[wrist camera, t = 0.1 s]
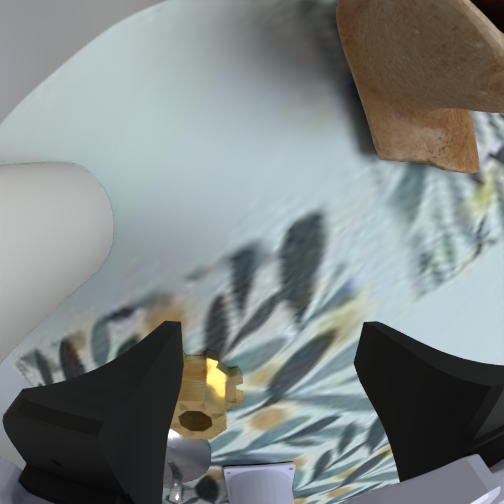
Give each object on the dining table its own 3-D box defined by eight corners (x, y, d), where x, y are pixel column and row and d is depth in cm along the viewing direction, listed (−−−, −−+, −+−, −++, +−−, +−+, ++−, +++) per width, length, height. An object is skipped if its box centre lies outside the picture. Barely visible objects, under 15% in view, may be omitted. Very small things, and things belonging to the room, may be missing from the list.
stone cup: (290, -2, 16) (357, -148, 1) (419, 6, 16) (532, -59, 1) (342, 191, 20) (523, 249, 5) (463, 169, 20) (614, 197, 5)
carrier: (217, 478, 28) (216, 509, 23) (108, 468, 27) (100, 495, 22) (202, 403, 24) (199, 443, 19) (67, 391, 23) (49, 422, 19)
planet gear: (243, 411, 24) (246, 448, 20) (165, 410, 24) (158, 446, 20) (241, 348, 22) (243, 386, 18) (150, 348, 22) (136, 384, 18)
